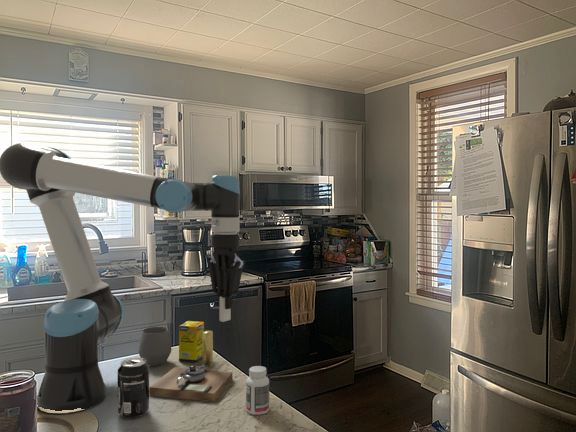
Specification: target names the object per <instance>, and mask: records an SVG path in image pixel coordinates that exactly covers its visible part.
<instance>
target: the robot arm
mask: <svg viewBox="0 0 576 432" xmlns="http://www.w3.org/2000/svg"><path fill="white" fill-rule="evenodd" d="M0 175H1V177H2V179H3V180H4V181H5V182H6V183H7V184H9V185H10V186H12V187H13V188H17V189H19V190H25V191H26V193H27V196H28V199H29V202H30V203H31V204H33V205H34V206H37V207H38V208H39V211H40V214H41V216H42V220H43V223H44V225H45V229H46V231H47V235H48V237H49V240H50V243H51V245H52V249H53V252H54V255H55V258H56V260H57V263H58V266H59V270H60V272H61V276H62V278H63V281H64V284H65V287H66V291H67V294H66V295H65V298H64V299H63V300H64V301H60V302H57V303H55V304H53V305H51V306H50V307H49V308H48V309H47V310H46V312H45V315H44V322H43V330H44V368H45V369H44V375H43V378H42V380H41V383H40V386H39V389H38V393H37V396H36V406H37V405H38V407H42V408H44V409H50V410H55V411H62V410H74V409H77V408H81V409H85V410H84V411H86V410H89V409H91V408H93V407H96V406H98V405H100V404H101V403H102V402H103V401H104V400H105V399H106V397H107V386H106V384H105V381H104V379H103V375H102V372H101V369H100V366H99V344H100V343H101V342H102V341H104V340H105V339H107V338H109V337H110V336H112V335H113V334H114V333H115V332H116V331H117V330H118V328H119V327H120V326H121V324H122V322H123V319H124V314H125V313H124V312H125V310H124V305H123V303H122V301H121V300H120V298H118V296H117V295H115V294H113V293H112V290H111V286H110V285H109V283H106V282H104V281H102V280H101V276H100V273H99V270H98V268H97V265H96V262H95V259H94V256H93V252H92V250H91V247H90V243H89V241H88V239H87V234H86V231H85V229H84V226H83V223H82V220H81V217H80V215H79V211H78V209H77V206H76V204H75V200H74V197H75V195H76V194H81V195H82V194H83V195H87V196H91V197H98V198H102V199H108V200H114V201H119V202H124V203H129V204H135V205H140V206H143V207H145V206H146V207H150V208H154V209H159V210H163V211H166V212H169V213H173V214H174V213H181V212H191V211H193V212H194V211H197V212H198V211H204V212H206V211H207V212H209V211H210V213H211V229H210V230H211V232H212V234H211V237H210V239H211V240H210V241H211V243H210V245H211V247H212V249H213V251H212V255H210V256H209V257H206V263H207V265H208V271H209V275H210V283H211V284H210V285H211V288H212V293H214V294H216V295H217V298H218V299H217V300H218V303H217V304H218V308H219V316H218V317H219V322H222V323H224V322H227V321H231V320H232V319H231V318H232V317H231V316H232V315H231V313H232V312H231V311H232V310H231V309H233V296H237V295H239V290H240V285H241V279H242V274H243V269H244V267H245V265H246V261H245V260H244V259H243V260H242V259H241V258H240V257H239V252H238V248H240V234H239V232H240V226H241V223H240V208H241V207H240V206H241V205H240V204H241V192H240V191H241V190H240V179H239V177H237V176H236V175H232V174H231V175H229V174H227V175H226V174H225V175H224V174H222V175H218V174H217V175H212V176H211V180H210V182H188V181H183V180H180V179H173V178H172V179H171V178H168V177H162V176H156V175H151V174H147V173H142V172H138V171H137V172H136V171H131V170H127V169H120V168H115V167H111V166H105V165H101V164H94V163H90V162H85V161H79V160H75V159H72V158H71V157H70V155H68V154H67V153H65V152H64V151H62V150H60V149H57V148H54V147H50V146H49V147H48V146H42V145H38V144H33V143H30V142H19V143H16V144H13V145H10V146H9V147H8V148H6V149H5V150H4V151H3V152H2V154H1V155H0Z"/></svg>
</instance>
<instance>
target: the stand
mask: <svg viewBox="0 0 576 432" xmlns="http://www.w3.org/2000/svg"><path fill="white" fill-rule="evenodd" d="M183 371H186V367H176V366H175V367H173V368H171V369H170V370H169V371H168V372H167V373H166V374H164V375H163V376H162V377H160V378H159V379H158V380H157V381H155V382H154V383H153V384H151V385H149V396H155V397H156V396H157V397H163V398H164V397H166V398H175V399H184V400H194V401H204V402H211V403H212V402H215V401H216V400H217V399H218V398H219V396H220V395H221V394H222V393H223V391H225V390H226V388H227V387H228V386H229V384H230V383H231V382H232V381H233V372H231V371H230V372H229V371H221V370H210V369H209V370H207V369H206V370H205V371H204V372H205V379H204V380H203V381H201V382H197V383H187V384H186V385H185V386H184V387H182V388H178V385H177V384H176V380H177V378H179V377H180V374H181V373H182V372H183Z"/></svg>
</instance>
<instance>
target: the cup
mask: <svg viewBox="0 0 576 432" xmlns="http://www.w3.org/2000/svg"><path fill="white" fill-rule="evenodd" d="M171 353H172V343H171V338H170V332H169V328H168V327H165V326H150V327H146V328H143V329H142V330H141V335H140V341H139V346H138V355H139V358H144V359H146V364H147V365H148V366H149V367H157V366H162V365H164V364H166V362H167V361H168V359H169V357H170V356H171Z"/></svg>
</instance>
